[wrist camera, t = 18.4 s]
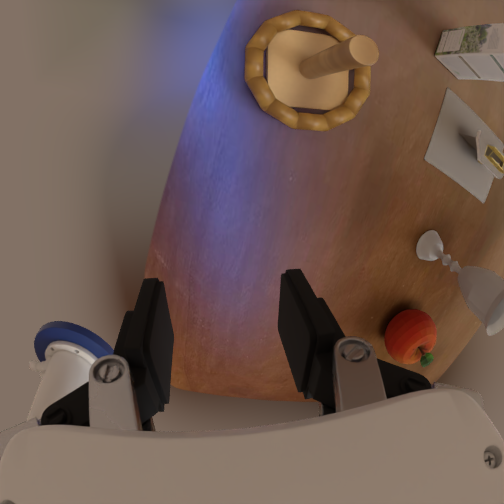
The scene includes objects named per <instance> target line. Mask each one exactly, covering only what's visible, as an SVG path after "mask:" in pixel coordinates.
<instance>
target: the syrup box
mask: <svg viewBox="0 0 504 504" xmlns="http://www.w3.org/2000/svg"><path fill="white" fill-rule="evenodd" d="M435 57H436V58H437V59H438V60H439V61H440V62H441V63H442V64H443V65H444V66H445V67H446V68H447V69H448V70H449V71H450V72H451V73H452V74H453V75H454V76H455V77H456V78H457V79H476V80H491V81H501V82H504V23H497V24H486V25H476V26H468V27H461V28H455V29H449V30H443V32H442V34H441V38H440V41H439V44H438V47H437V50H436V53H435Z"/></svg>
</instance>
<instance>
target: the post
mask: <svg viewBox="0 0 504 504" xmlns="http://www.w3.org/2000/svg"><path fill="white" fill-rule="evenodd" d="M378 57H379V51H378V47H377V45H376V44H375V42H374V41H373V40H372V39H370V38H369V37H367V36H364V35H356V36H353V37H351V38H349V39H346V40H344V41H342V42H340V41H339V40H338V39H336V38H335V37H334V36H329V35H323V34H317V33H311V32H304V31H297V30H288V29H287V30H284V31H282V32H279V33H277V34H276V35H275V37H274V38H273V39H272V41H271V42H270V43H269V45H268V46H267V48H266V82H267V84H268V85H269V87H270V89H271V90H272V92H273V94H274V96H275V98H276V99H278V100H279V101H281V102H283V103H284V104H286V105H287V106H289V107H294V108H307V109H318V110H328V111H331V110H333V109H335V108H337V107H340V106H342V105H343V103H344V102H345V100H346V99H347V97H348V70H351V69H355V68H360V67H365V66H370V65H373V64H374V63H375V62H376V61H377V60H378Z"/></svg>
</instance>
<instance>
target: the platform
mask: <svg viewBox="0 0 504 504" xmlns="http://www.w3.org/2000/svg"><path fill="white" fill-rule="evenodd" d="M503 147H504V144H503V143H502V142H501V141H500V140H499V138H498V137H497V136H496V135H495V134H494V133H493V132H492V130H491V129H490V128H489V127H488V126H487V125H486V124H485V123H484V122H483V121H482V120H481V119H480V118H479V117H478V115H477V114H476V113H475V112H474V111H473V110H472V109H471V108H470V107H469V106H467V105H466V104H465V103H464V102H463V101H462V100H461V99H460V98H459V97H458V96H457V95H456V94H455V93H454V92H452V91H451V90H450V89H449V88H448V87H447V91H446V94H445V98H444V101H443V104H442V108H441V111H440V114H439V117H438V121H437V124H436V127H435V130H434V133H433V136H432V138H431V141H430V144H429V147H428V150H427V152H426V155H425V158H424V160H426V161H427V162H429V163H430V164H432V165H433V166H435V167H436V168H438V169H439V170H441V171H442V172H443V173H445V174H446V175H448V176H449V177H450V178H452V179H453V180H454V181H456V182H457V183H459V184H460V185H461V186H462V187H464V188H465V189H466V190H468V191H469V192H470V193H472V194H473V195H474V196H475V197H477V198H478V199H479V200H480V201H481V202H483V203H484V202H485V200H486V197H487V195H488V192H489V189H490V187H491V184H492V181H493V178H494V176H495V177H496V178H498V179H501V178H502V177H503V175H504V154H503V153H502V151H503ZM499 163H500V166H499Z"/></svg>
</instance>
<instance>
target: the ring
mask: <svg viewBox="0 0 504 504" xmlns="http://www.w3.org/2000/svg"><path fill="white" fill-rule="evenodd" d="M298 25H301V26H308V27H314V28H320V29H324V30H325V31H327V32H328V33H329V34H331V35H332V36H334V37H335V38H336V39H338V40H339V41H340V42H342V41H344V40H346V39H349V38H351V37H353V36H356V35H355V34H354V33H352V32H351V31H350V30H348V29H347V28H346V27H344V26H343V25H342V24H340V23H339V22H338V21H336V20H335V19H333V18H332V17H330V16H328V15H324V14H318V13H313V12H307V11H300V10H294V11H291V12H288V13H285V14H282V15H279V16H276V17H274V18H271V19H268V20H266V21H264V22H263V24H262V25H261V26H260V27H259V29H258V30H257V31H256V33H255V34H254V35H253V37H252V38H251V40H250V41H249V42H248V44H247V45H246V47H245V82H246V83H247V85H248V87H249V88H250V90H251V92H252V93H253V95H254V97H255V99H256V100H257V102H258V104H259V106H260V107H261V109H262V110H263V111H264V112H266V113H268V114H269V115H271V116H273V117H274V118H276V119H278V120H279V121H281V122H282V123H284V124H286V125H287V126H289V127H290V128H292V129H302V130H316V131H328V130H330V129H332V128H334V127H336V126H338V125H340V124H343V123H345V122H347V121H349V120H351V119H353V118H354V117H355V116H356V114H357V113H358V111H359V110H360V108H361V107H362V105H363V103H364V102H365V100H366V99H367V97H368V96H369V94H370V75H371V65H370V66H365V67H360V68H355V69H354V88H353V90H352V91H351V93H350V94H349V96H348V97H347V99H346V100H345V102H344V103H343V105H342V106H340V107H337V108H335V109H333V110H331V111H329V112H327V113H324V114H311V113H299V112H297V111H295V110H294V109H292V108H290V107H289V106H287V105H286V104H284V103H283V102H281V101H279V100H278V99H276V98H275V96H274V94H273V92H272V90H271V89H270V87H269V85H268V84H267V82H266V80H265V78H264V77H263V54H264V50H265V49H266V48H267V46H268V45H269V43H270V42H271V41H272V39H273V38H274V37H275V35H276V34H277V33H279V32H282V31H284V30H287V29H290V28H292V27H295V26H298Z"/></svg>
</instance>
